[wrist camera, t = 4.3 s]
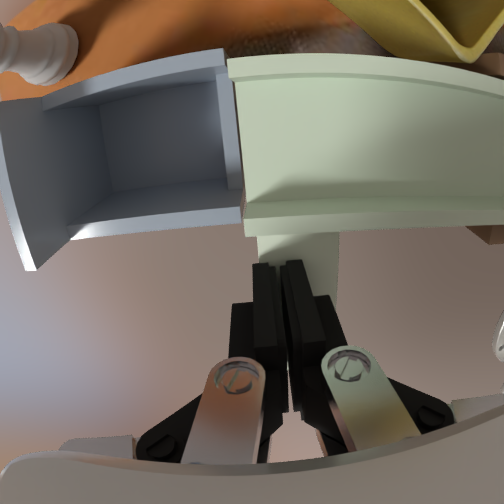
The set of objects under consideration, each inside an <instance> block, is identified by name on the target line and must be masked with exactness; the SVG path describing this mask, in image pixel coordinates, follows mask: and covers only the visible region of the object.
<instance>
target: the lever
mask: <svg viewBox="0 0 504 504" xmlns="http://www.w3.org/2000/svg"><path fill="white" fill-rule="evenodd" d="M227 66H228V76H229V79H231V80H232V81H233V82H235V89H236V99H237V109H238V119H239V129H240V139H241V149H242V159H243V169H244V178H245V188H246V198H247V205H246V210H245V215H244V219H243V220H244V228H245V237H253V236H257V244H258V255H259V263H267V262H268V263H269V267H270V266H275V268H276V274H277V281H278V288H279V295H280V302H281V309H282V296H281V279H280V266H281V265H286V261H289V260H300V259H302V261H303V264H304V267H305V270H306V274H307V277H308V280H309V283H310V287H311V290H312V293H313V296H319V295H330V297H331V300H332V303H333V305H334V308H335V311H336V299H337V282H338V262H339V231H358V230H378V229H400V228H422V227H445V226H446V227H448V226H475V225H504V80H501V79H497V78H494V77H490V76H487V75H483V74H479V73H475V72H471V71H467V70H463V69H458V68H454V67H449V66H444V65H439V64H433V63H428V62H421V61H415V60H408V59H400V58H391V57H382V56H370V55H355V54H328V53H304V54H276V55H261V56H249V57H239V58H230V59H227ZM282 316H283V314H282ZM287 369H288V362H287Z"/></svg>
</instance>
